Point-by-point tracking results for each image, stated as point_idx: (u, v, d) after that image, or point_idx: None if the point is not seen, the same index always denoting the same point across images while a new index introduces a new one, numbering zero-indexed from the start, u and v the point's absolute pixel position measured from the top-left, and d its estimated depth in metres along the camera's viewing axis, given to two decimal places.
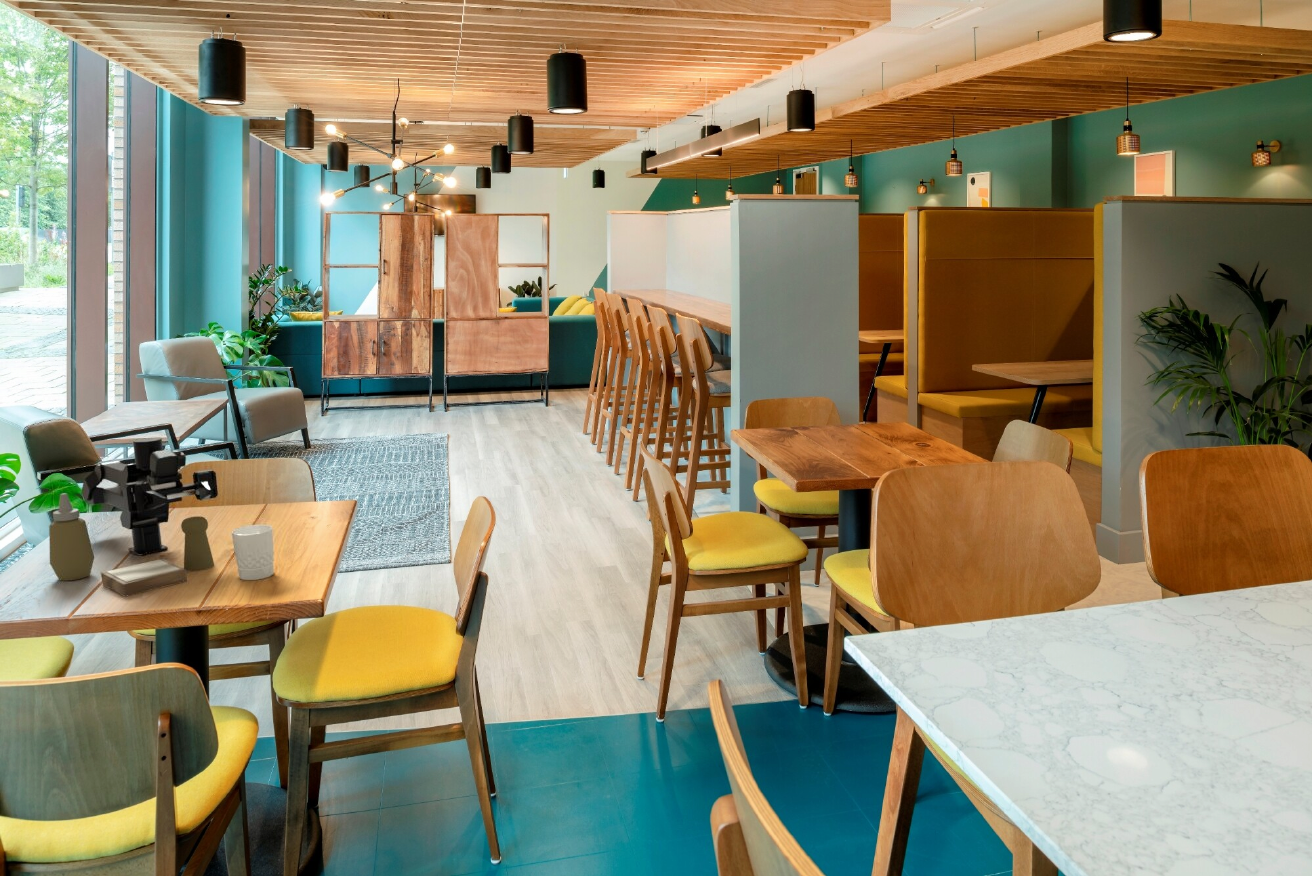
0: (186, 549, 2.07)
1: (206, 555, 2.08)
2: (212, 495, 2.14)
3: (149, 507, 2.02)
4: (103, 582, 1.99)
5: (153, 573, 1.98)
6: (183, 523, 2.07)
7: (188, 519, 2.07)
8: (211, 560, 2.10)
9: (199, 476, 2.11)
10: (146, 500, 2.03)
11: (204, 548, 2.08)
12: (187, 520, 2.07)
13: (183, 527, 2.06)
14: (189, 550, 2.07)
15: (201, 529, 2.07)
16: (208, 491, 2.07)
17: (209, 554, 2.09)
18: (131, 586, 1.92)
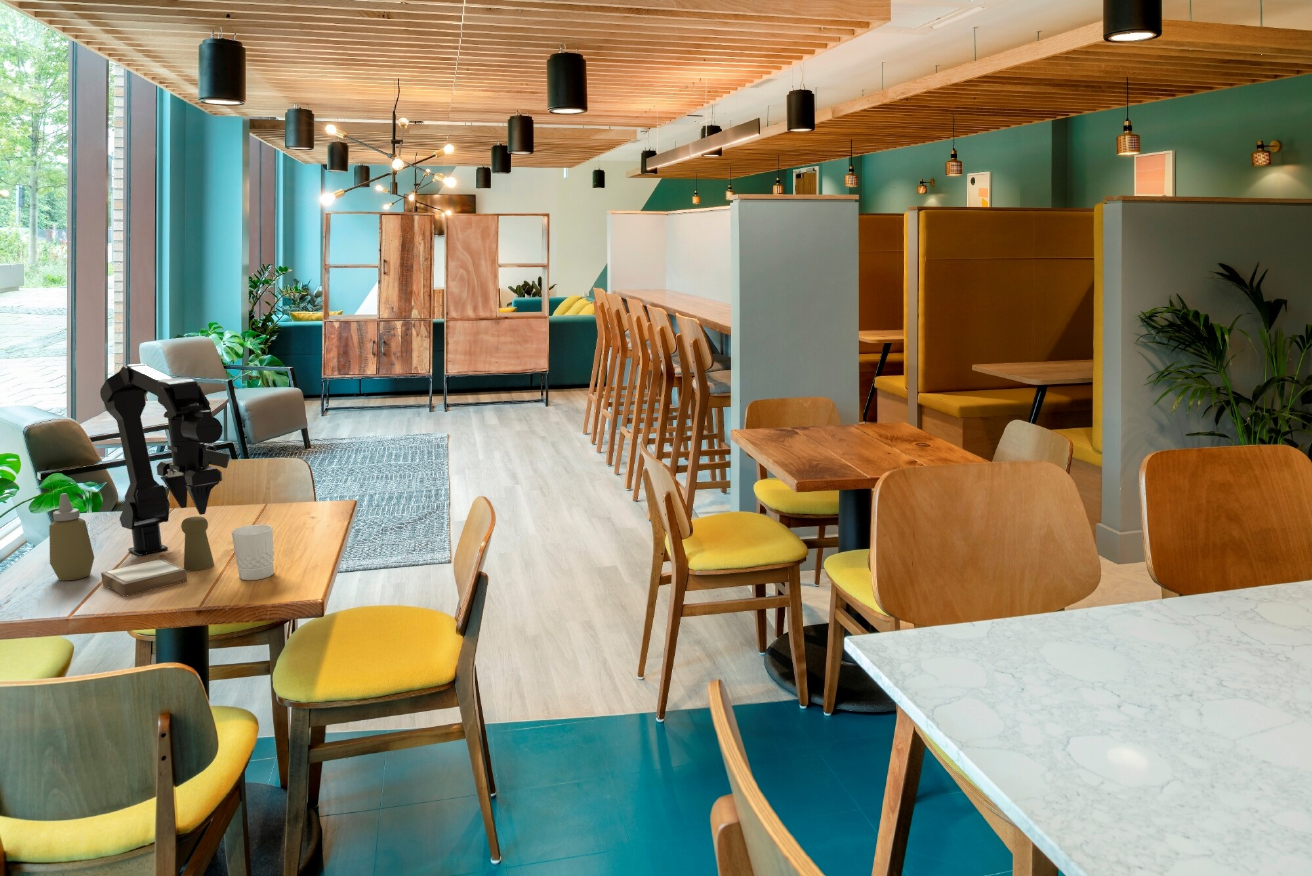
0: (186, 549, 2.07)
1: (206, 555, 2.08)
2: None
3: (194, 495, 2.02)
4: (103, 582, 1.99)
5: (153, 573, 1.98)
6: (183, 523, 2.07)
7: (188, 519, 2.07)
8: (211, 560, 2.10)
9: None
10: None
11: (204, 548, 2.08)
12: (187, 520, 2.07)
13: (183, 527, 2.06)
14: (189, 550, 2.07)
15: (201, 529, 2.07)
16: (184, 505, 2.11)
17: (209, 554, 2.09)
18: (131, 586, 1.92)
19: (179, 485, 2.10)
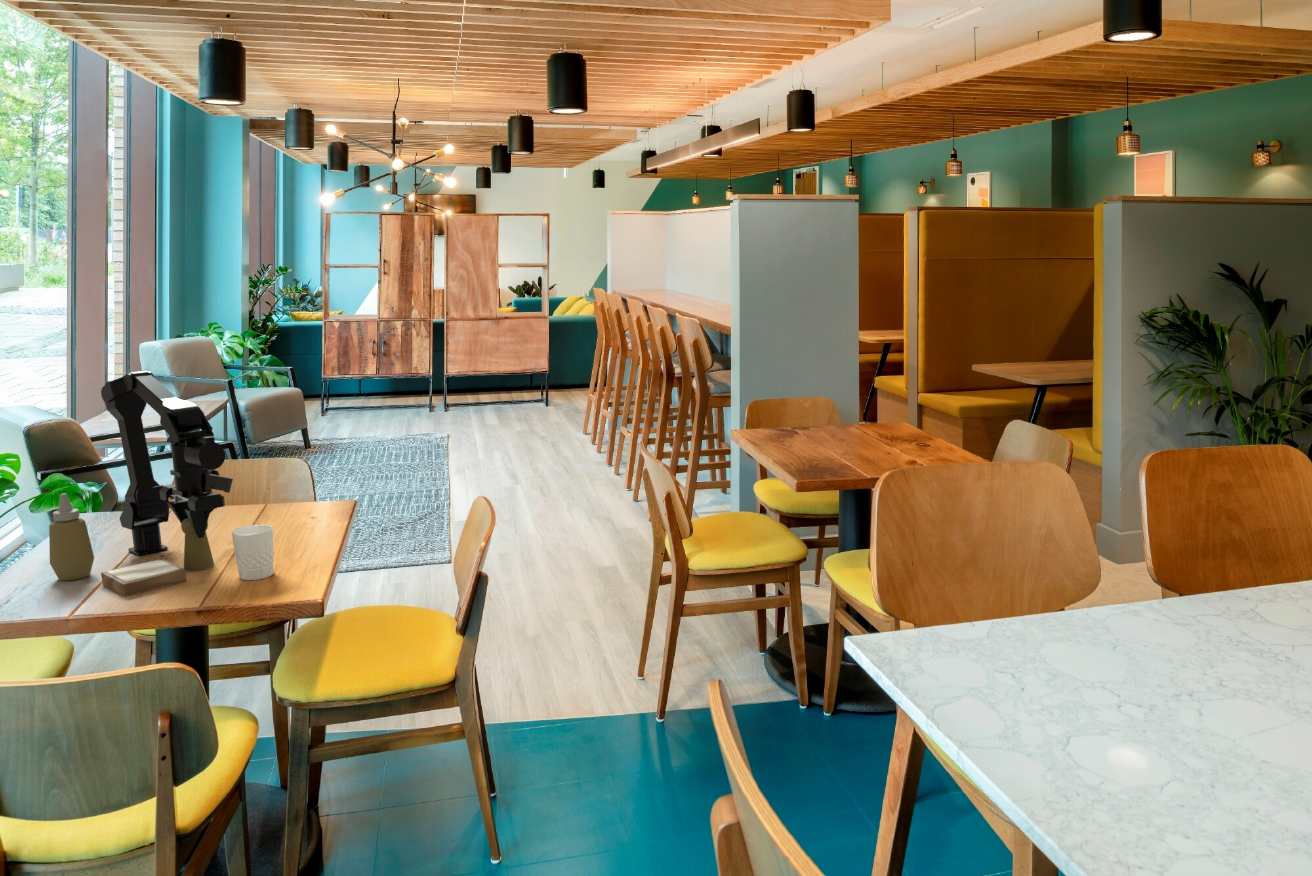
0: (186, 549, 2.07)
1: (206, 555, 2.08)
2: None
3: (193, 519, 2.04)
4: (103, 582, 1.99)
5: (153, 573, 1.98)
6: (183, 523, 2.06)
7: (188, 519, 2.07)
8: (211, 560, 2.10)
9: None
10: None
11: (204, 548, 2.08)
12: (187, 520, 2.07)
13: (183, 527, 2.06)
14: (189, 550, 2.07)
15: None
16: None
17: (209, 554, 2.09)
18: (131, 586, 1.92)
19: (185, 511, 2.10)
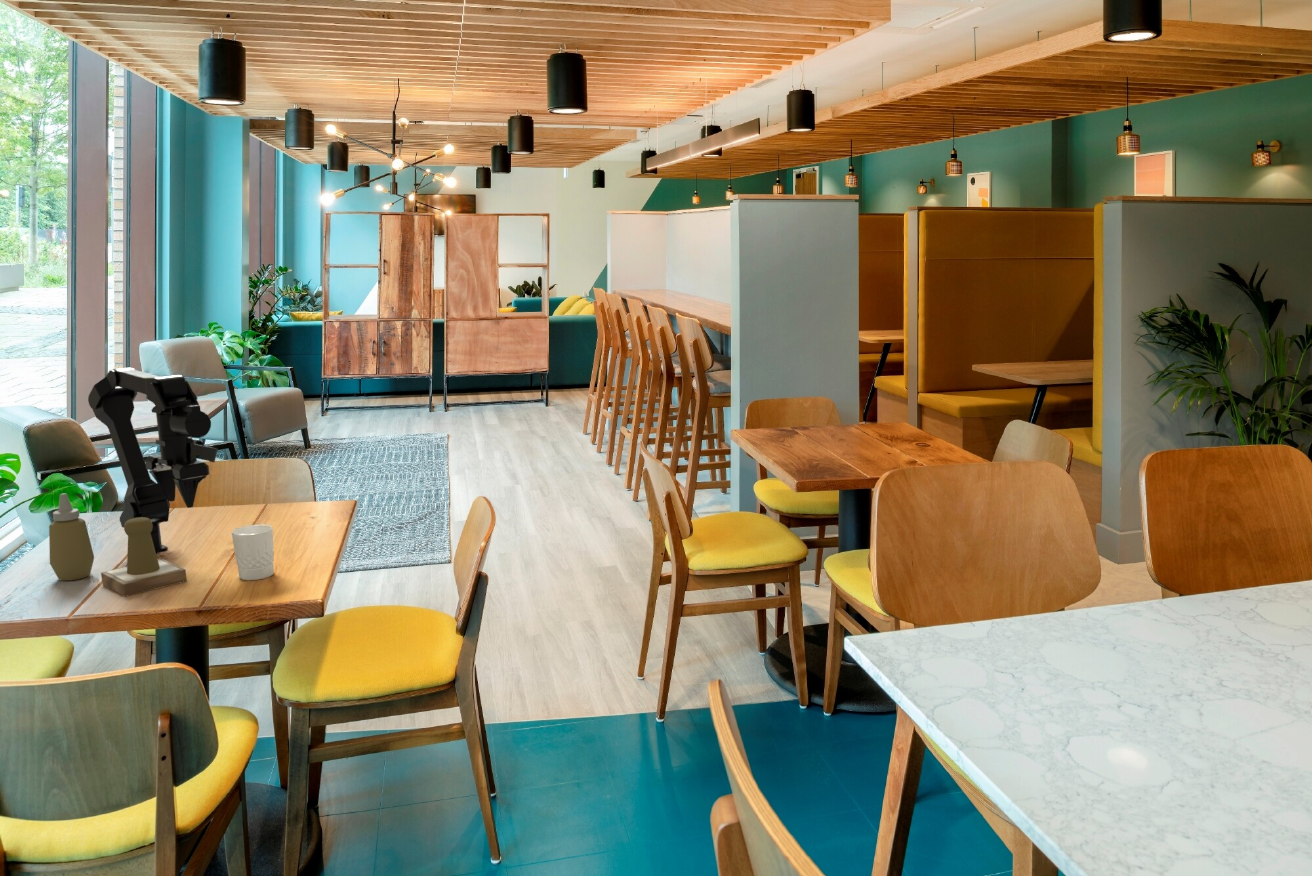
0: (129, 552, 1.97)
1: (150, 558, 1.98)
2: None
3: (182, 488, 2.05)
4: (103, 582, 1.99)
5: (153, 573, 1.98)
6: (125, 524, 1.96)
7: (131, 520, 1.97)
8: (156, 563, 1.99)
9: None
10: None
11: (148, 551, 1.98)
12: (130, 521, 1.96)
13: (125, 528, 1.96)
14: (132, 552, 1.96)
15: (144, 531, 1.97)
16: (172, 499, 2.15)
17: (154, 557, 1.99)
18: (131, 586, 1.92)
19: (167, 479, 2.14)
